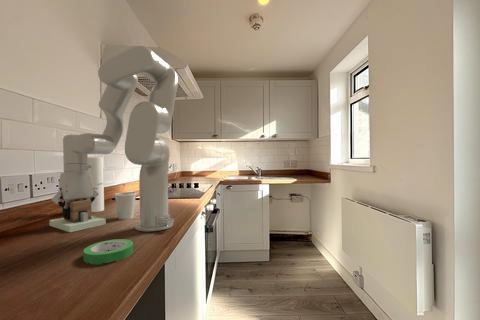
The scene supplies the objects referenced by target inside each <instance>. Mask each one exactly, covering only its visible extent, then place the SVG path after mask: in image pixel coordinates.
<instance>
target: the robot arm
mask: <svg viewBox="0 0 480 320" xmlns="http://www.w3.org/2000/svg"><path fill="white" fill-rule="evenodd" d="M98 67H99V68H98V70H97V75H98V79H99V80H100V81H101V83H103V84H104V85H106V87H105V89H104V91H103V93H102V95H101V97H100V99H99V101H98V107H99V108H100V110H102V112H103V113H104V115H105V119H106V125H105V128H104V130H103V132H102V134H99V133H90V132H87V133H85V132H84V133H81V134H66V135H63V138H62V148H63V149H62V150H63V151H62V153H63V154H62V157H63V172H60V175H59V179H58V180H59V181H58V190H57V191H58V192H57V193H56V194H55V195H54V196H53V197H52V198H51V201H52V202H54V203H55V204H56V205H58V206H59V207H60V208H61V209H62V218H64V219H67V220H69V219H70V209H69V208H68V206H69V202H70V201H71V200H76V199H86V200H91V204H92V202H93V201H94V200H95V198H96V197H97V196H98V195H99V194H98V193H97V192H96V191H95V190H94V189H93V188H92V180H91V175H90V172H88V169H89V168H91V165H88V158H89V157H88V155H109V154H111V153H112V152H114V151H115V149H116V148H117V146H118V145H119V143H120V140H121V138H122V135H123V132H124V119H123V118H124V113H125V111H126V109H127V107H128V106H129V105H128V104H129V103H130V101H131V99H132V97H133V94H134V93H135V91H136V88H137V86H138V83H139V77H138V74H139V75H141V76H143V77H145V78H146V79H148V80H150V81H152V82H153V83H154V84H153V86H152V88H151V90H150V94H149V100H147V101H141V102H139V103H137V104H136V105H135V106H134V107H133V108H132V110H131V112H130V114H129V120H128V123H127V131H126V135H125V142H124V154H125V157H126V159H127V160H128V161H129V162H130V163H132V164H134V165H138V166H140V170H139V177H138V179H139V180H138V181H139V182H138V183H139V184H138V185H139V186H138V187H139V191H138V193H139V196H138V197H139V222H137V223H136V224H135V225H134V228H135V230H136V231H139V232H158V231H163V230H168V229H170V228H172V227H173V226H174V222H175V219H174V218H171V214H170V213H169V179H168V178H169V163H170V154H171V153H170V148H169V145H168V144H167V142H166V141H165V140H163V139H162V138H160V137H157V134H161V135H162V134H165V133H167V132H168V131H169V130H170V129H171V126H172V120H173V114H174V110H175V103H176V96H177V92H178V87H179V77H178V74H177V72H176V70H175V69H174V68H173V66H171V65H170V64H169V63H168V62H166V61H165V60H164V59H163V58H162V57H161V56H159V55H158V54H157V53H156V52H155V51H153V50H152V49H151V48H149V47H147V46H146V45H136V46H133V47H129V48H127V49H126V50H123V51H121V52H119V53H117V54H114V55H113V56H110V57H109V58H107V59H105V60H104V61H103V62H102V63H101V64H100V65H99V66H98ZM92 194H93V195H92ZM89 197H90V198H89ZM61 200H62V201H61Z"/></svg>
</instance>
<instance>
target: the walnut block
mask: <svg viewBox="0 0 480 320" xmlns="http://www.w3.org/2000/svg"><path fill="white" fill-rule="evenodd" d="M68 208H69V209H70V219H69V220H67V219H65V221H70V222H79V219H78V212H80V211H81V212H86V213H88V220H89V219H92V216H93V215H92V213H93V212H91V200H86V199H76V200H71V201H70V202H69V206H68Z"/></svg>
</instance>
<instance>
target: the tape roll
mask: <svg viewBox="0 0 480 320" xmlns="http://www.w3.org/2000/svg"><path fill="white" fill-rule="evenodd" d="M133 242H134V241H132V240H130V239H124V238H123V239H122V238H121V239H119V238H117V239H116V238H115V239H109V240H108V239H107V240H104V241H103V240H102V241H99V242H95V243H93V244H90V245H87V247H85V248H84V249H83V252H82V253H83V254H82V255H83V257H82V258H83V262H84V263H85V262H86V263H85V264H88V263H90V264H89V265H103V264H102V263H108V264H110V263H109V262H113V261H117V260H120V261H122V260H121V259H123V258H125V259H127V258H126V257H128V256H129V257H131V256H132V255H133V254H134V243H133ZM108 250H109V251H108ZM132 253H133V254H132ZM131 254H132V255H131ZM130 255H131V256H130ZM129 257H128V258H129ZM123 260H124V259H123ZM117 262H118V261H117ZM113 263H114V262H113Z"/></svg>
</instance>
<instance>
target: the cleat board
mask: <svg viewBox="0 0 480 320" xmlns="http://www.w3.org/2000/svg"><path fill="white" fill-rule="evenodd" d="M78 219H79V222H70V221H65V219H64V217H61V218H55V219H49V226H50V227H53V228H56V229H59V230H62V231H64V232H68V233H73V232H76V231H81V230H86V229H91V228H96V227H99V226H104V225H106V224H107V223H106V222H107V221H106V218H103V217H99V216H95V215H92V219H89V220H88V213H86V212H81V211H80V212H78Z"/></svg>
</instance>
